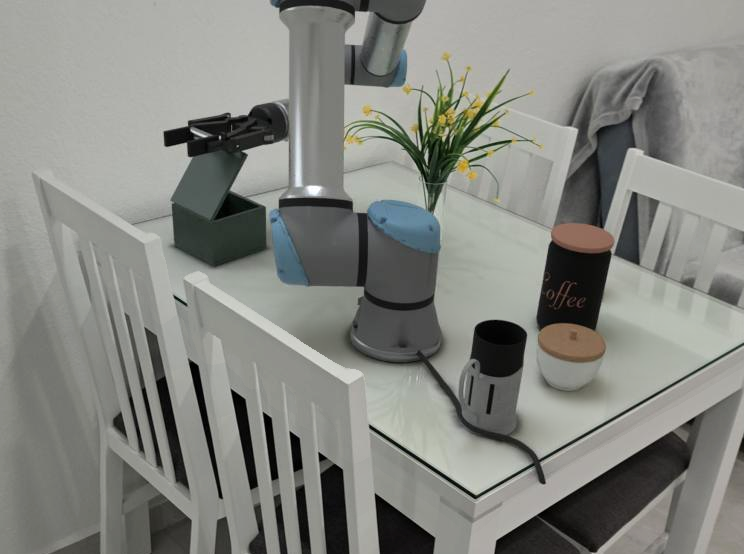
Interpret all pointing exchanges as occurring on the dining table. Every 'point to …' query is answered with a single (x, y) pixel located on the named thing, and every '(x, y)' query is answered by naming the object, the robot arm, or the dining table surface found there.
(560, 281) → the coffee jar
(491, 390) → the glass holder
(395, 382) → the dining table surface
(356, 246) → the robot arm
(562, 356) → the trinket box
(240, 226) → the bin
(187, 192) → the bin lid
